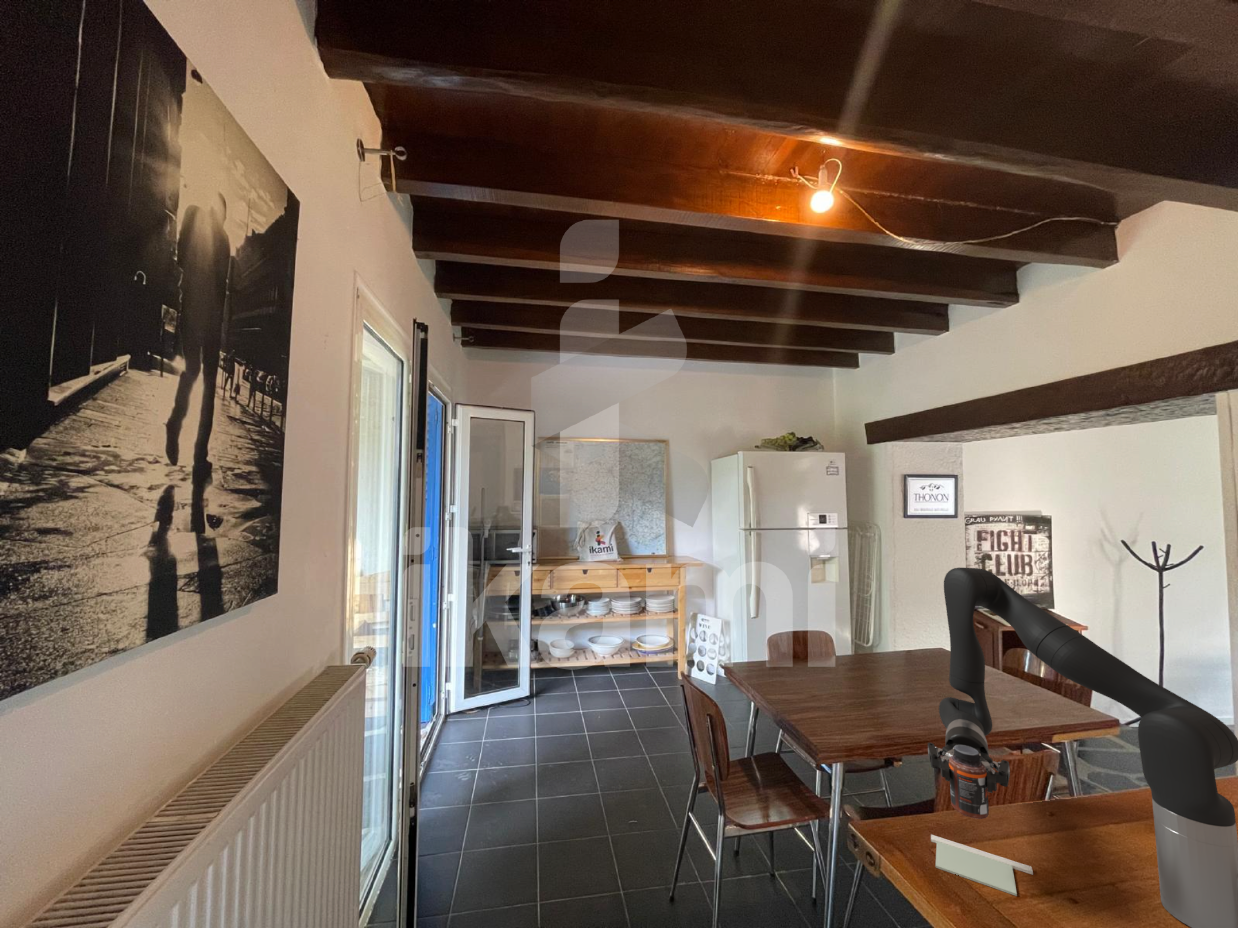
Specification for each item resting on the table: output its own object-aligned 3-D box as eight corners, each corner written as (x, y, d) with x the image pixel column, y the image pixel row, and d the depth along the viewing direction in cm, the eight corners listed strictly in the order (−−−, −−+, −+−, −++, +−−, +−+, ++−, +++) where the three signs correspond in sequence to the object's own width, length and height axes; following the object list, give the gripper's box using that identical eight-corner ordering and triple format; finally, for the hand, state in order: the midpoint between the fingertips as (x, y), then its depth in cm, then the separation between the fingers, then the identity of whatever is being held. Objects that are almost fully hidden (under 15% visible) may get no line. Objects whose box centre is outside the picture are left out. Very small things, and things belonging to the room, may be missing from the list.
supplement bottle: (996, 822, 90) (992, 759, 90) (960, 818, 91) (956, 755, 92) (979, 802, 95) (975, 743, 96) (945, 799, 97) (942, 740, 97)
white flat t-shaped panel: (1031, 869, 92) (1031, 866, 92) (1039, 903, 84) (1039, 900, 84) (931, 836, 101) (931, 834, 101) (929, 865, 93) (929, 862, 93)
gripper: (926, 717, 110) (922, 749, 96) (1007, 735, 102) (1016, 772, 88) (928, 752, 109) (924, 789, 95) (1009, 772, 101) (1018, 816, 87)
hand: (968, 781), depth 92 cm, fingers closed on supplement bottle, 6 cm apart
